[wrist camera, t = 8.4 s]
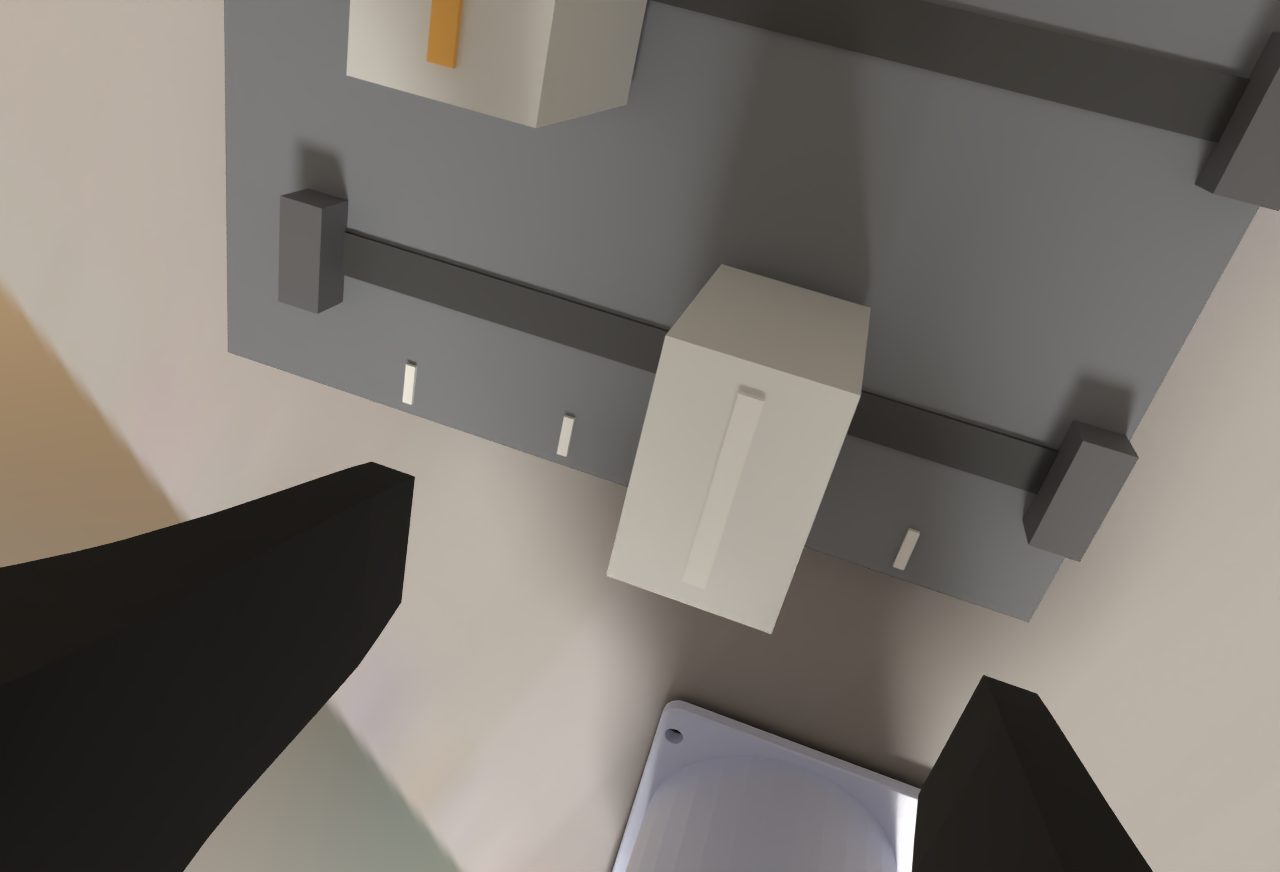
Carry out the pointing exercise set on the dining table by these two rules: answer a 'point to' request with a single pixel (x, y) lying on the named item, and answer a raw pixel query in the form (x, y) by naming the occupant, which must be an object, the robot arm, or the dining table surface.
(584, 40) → the fader knob
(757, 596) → the fader knob
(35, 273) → the dining table surface
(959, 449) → the console board
